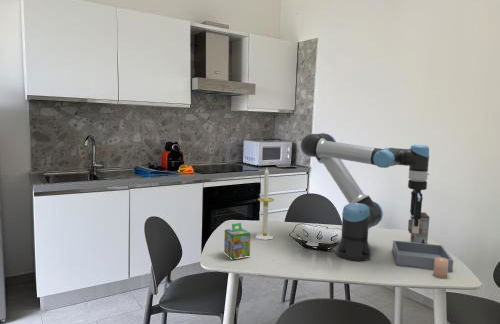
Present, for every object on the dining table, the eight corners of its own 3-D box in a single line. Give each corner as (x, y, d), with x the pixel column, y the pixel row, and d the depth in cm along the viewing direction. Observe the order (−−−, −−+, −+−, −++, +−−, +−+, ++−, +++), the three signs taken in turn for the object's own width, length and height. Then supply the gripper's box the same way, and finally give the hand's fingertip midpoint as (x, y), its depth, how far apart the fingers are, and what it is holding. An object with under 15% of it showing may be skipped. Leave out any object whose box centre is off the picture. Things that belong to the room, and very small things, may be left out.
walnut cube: (421, 234, 163) (422, 223, 163) (409, 233, 165) (410, 222, 164) (419, 231, 168) (420, 220, 167) (408, 230, 169) (408, 219, 169)
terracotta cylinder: (434, 277, 149) (436, 260, 148) (432, 272, 154) (433, 256, 153) (448, 279, 148) (449, 262, 147) (445, 274, 153) (446, 257, 152)
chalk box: (231, 261, 161) (232, 228, 160) (223, 254, 169) (224, 222, 168) (250, 257, 166) (251, 225, 164) (241, 251, 174) (242, 220, 172)
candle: (257, 233, 201) (258, 165, 196) (275, 235, 199) (277, 166, 194) (253, 239, 191) (255, 167, 187) (272, 241, 189) (275, 168, 185)
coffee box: (409, 241, 193) (412, 211, 191) (422, 242, 192) (425, 212, 190) (413, 247, 184) (416, 215, 183) (427, 248, 183) (430, 216, 181)
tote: (397, 265, 160) (397, 254, 160) (392, 250, 179) (393, 240, 179) (452, 271, 155) (453, 260, 154) (441, 255, 174) (442, 245, 173)
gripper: (431, 183, 154) (427, 238, 157) (423, 177, 171) (419, 226, 174) (411, 182, 156) (408, 236, 159) (405, 176, 173) (402, 225, 176)
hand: (414, 231), depth 166 cm, fingers closed on walnut cube, 5 cm apart
